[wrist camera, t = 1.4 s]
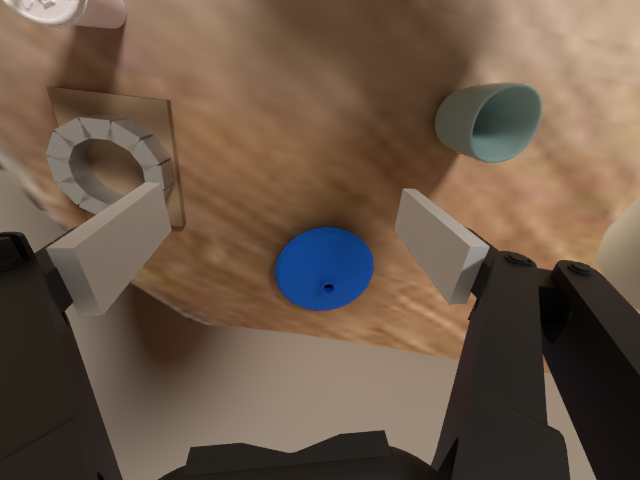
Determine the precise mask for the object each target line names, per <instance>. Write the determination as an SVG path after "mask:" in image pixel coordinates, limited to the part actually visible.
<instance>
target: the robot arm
mask: <svg viewBox="0 0 640 480" xmlns="http://www.w3.org/2000/svg"><path fill="white" fill-rule="evenodd" d="M171 231H172V229H171V225H170V221H169V216H168V212H167V208H166V203H165V199H164V194H163V190H162V186H161V183H144V184H142V185H141V186H139V187H138V188H136V189H135V190H133V191H132V192H130V193H129V194H127V195H126V196H124V197H123V198H121V199H120V200H118V201H117V202H115V203H113V204H112V205H110V206H109V207H107V208H106V209H104V210H103V211H101V212H100V213H98V214H97V215H95V216H94V217H92V218H91V219H89V220H88V221H86V222H85V223H83V224H82V225H80V226H78V227H75V228H73V229H71V230H69V231H68V232H66V233H65V234H64V235H62V237H59V238H57V239H56V240H54V242H51V243H50V244H48V245H46V246H45V247H43V248H42V249H40V250H39V251H37V252H36V253H34V252H33V250H32V248H31V246H30V245H29V243H28V241H27V239H26V237H25V235H24V234H23V233H19V232H2V233H0V480H123V479H122V476H121V474H120V471H119V468H118V465H117V461H116V458H115V455H114V452H113V449H112V447H111V444H110V441H109V438H108V435H107V432H106V429H105V426H104V423H103V420H102V417H101V414H100V411H99V408H98V405H97V402H96V399H95V396H94V393H93V390H92V387H91V384H90V381H89V379H88V375H87V372H86V369H85V366H84V363H83V360H82V357H81V354H80V352H79V348H78V346H77V342H76V340H75V337H74V334H73V331H72V328H71V325H70V322H69V319H68V317H67V315H66V313H65V310H66V309H67V308H68V307H69V306H70V305H71V304H72V303H73V304H74V306H75V308H76V310H77V312H78V314H79V316H90V315H103V314H104V313H105V312H106V311H107V309H108V308H109V307H110V306H111V305H112V303H113V302H114V301H115V300H116V298H117V297H118V296H119V295H120V293H121V292H122V291H123V290H124V288H125V287H126V286H127V285H128V284H129V282H130V281H131V280H132V279H133V277H134V276H135V275H136V274H137V273H138V271H139V270H140V269H141V268H142V266H143V265H144V264H145V263H146V261H147V260H148V259H149V258H150V257H151V255H152V254H153V253H154V252H155V250H156V249H157V248H158V247H159V245H160V244H161V243H162V242H163V241H164V239H165V238H166V237H167V236H168V234H169V233H170V232H171ZM394 232H395V233H396V235H397V236H398V237H399V239H400V240H401V241H402V243H403V244H404V245H405V247H406V248H407V249H408V251H409V252H410V253H411V255H412V256H413V257H414V259H415V260H416V261H417V263H418V264H419V265H420V267H421V268H422V269H423V271H424V272H425V273H426V274H427V276H428V277H429V278H430V280H431V281H432V282H433V284H434V285H435V286H436V288H437V289H438V290H439V292H440V293H441V294H442V296H443V297H444V298H445V300H446V301H447V302H448V304H466V303H467V300H468V298H469V296H470V293H471V292H472V293H473V294H474V295H475V296H476V298H477V299H476V302H475V304H474V306H473V309H472V311H471V313H470V316H469V318H468V320H470V322H469V326H468V330H467V334H466V338H465V342H464V345H463V349H462V353H461V357H460V361H459V365H458V369H457V373H456V376H455V380H454V384H453V388H452V392H451V396H450V400H449V403H448V407H447V411H446V415H445V419H444V423H443V426H442V430H441V434H440V438H439V442H438V446H437V450H436V453H435V456H434V459H433V462H432V464H431V466H430V465H429V464H427V463H425V462H424V461H422V460H421V459H419V458H418V457H416V456H414V455H412V454H410V453H408V452H406V451H403V450H401V449H398V448H395V447H391V446H389V445H388V441H387V438H386V434H385V431H384V430H382V431H370V432H358V433H347V434H339V435H337V436H334V437H332V438H329V439H327V440H324V441H322V442H319V443H317V444H314V445H312V446H310V447H307V448H305V449H302V450H300V451H297V452H294V453H286V452H281V451H277V450H272V449H268V448H263V447H258V446H254V445H249V444H244V443H233V444H222V445H211V446H200V447H191V448H190V451H189V455H188V459H187V462H186V465H185V466H182V467H180V468H178V469H176V470H174V471H172V472H170V473H168V474H166V475H164V476H163V477H161V478H160V479H158V480H570V473H569V465H568V457H567V449H566V444H565V440H564V437H563V435H562V434H561V433H560V431H558V430H556V429H554V428H552V427H550V426H548V423H547V412H546V397H545V383H544V367H543V355H544V357H545V360H546V362H547V364H548V367H549V369H550V371H551V374H552V376H553V378H554V381H555V383H556V385H557V388H558V390H559V392H560V395H561V397H562V400H563V402H564V404H565V407H566V409H567V411H568V414H569V416H570V418H571V421H572V423H573V425H574V427H575V430H576V432H577V435H578V437H579V439H580V442H581V444H582V446H583V449H584V451H585V453H586V456H587V458H588V461H589V463H590V465H591V467H592V470H593V472H594V475H595V476H596V479H597V480H640V314H639V313H638V312H637V311H636V310H635V309H634V308H633V307H632V306H631V305H630V304H629V303H628V302H627V301H626V299H625V298H624V297H623V296H622V295H621V294H620V293H619V292H618V291H617V290H616V289H615V288H614V287H613V286H612V285H611V284H610V283H609V282H608V281H607V280H606V278H605V277H604V276H603V275H602V274H600V273H599V272H598V271H597V270H595V269H593V268H591V267H590V266H589V265H586V264H584V263H581V262H574V261H568V260H560V261H558V262H557V264H556V265H555V267H554V269H553V271H552V270H546V269H540V268H537V266H536V264H535V262H533V261H532V260H531V259H529V258H527V257H525V256H523V255H521V254H518V253H514V252H509V251H501V252H500V251H498V250H497V249H496V248H494V247H493V246H492V245H491V244H489V243H488V242H487V241H485V240H484V239H483V238H481V237H480V236H478V235H477V234H476V233H475V232H474V231H472V230H471V229H469V228H467V227H465V226H463V225H461V224H460V223H459V222H458V221H456V220H455V219H454V218H452V217H451V216H450V215H449V214H447V213H446V212H445V211H443V210H442V209H441V208H440V207H438V206H437V205H436V204H434V203H433V202H432V201H431V200H429V199H428V198H427V197H425V196H424V195H423V194H422V193H420V192H419V191H418V190H416V189H403V191H402V195H401V200H400V205H399V210H398V214H397V219H396V224H395V229H394Z"/></svg>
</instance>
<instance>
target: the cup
mask: <svg viewBox="0 0 640 480" xmlns="http://www.w3.org/2000/svg"><path fill="white" fill-rule="evenodd" d="M541 117H542V100H541V97H540V94H539V93H538V92H537V90H536V89H534V88H533V87H531V86H529V85H526V84H523V83H488V84H479V85H472V86H468V87H465V88H462V89H459V90H457V91H455V92H453V93H451V94H450V95H449V96H448V97H446V98H445V99H444V101H443V102H442V103H441V105H440V107H439V108H438V111H437V114H436V118H435V132H436V135H437V137H438V139H439V141H440V142H441V143H442V144H443V145H444V146H446V147H447V148H449V149H451V150H453V151H455V152H457V153H459V154H461V155H464V156H467V157H469V158H472V159H475V160H478V161H482V162H487V163H497V162H503V161H506V160H509V159H511V158H513V157H515V156H516V155H518V154H519V153H521V152H522V151H523V150H524V149H525V148H526V147H527V146H528V144H529V143H530V142H531V140H532V139H533V137H534V135H535V134H536V132H537V129H538V127H539V124H540V120H541Z"/></svg>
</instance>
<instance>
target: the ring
mask: <svg viewBox="0 0 640 480" xmlns="http://www.w3.org/2000/svg"><path fill="white" fill-rule="evenodd" d="M153 134H154V133H152V132H150V131H149V130H147V129H146V128H144V127H142V126H141V125H139V124H137V123H136V122H134V121H132V120H131V119H127V118H126V117H117V116H108V115H93V116H85V117H78V118H75V119H73V120H71V121H69V122H68V123H66V124H64V125H62V126H60V127H58V128H56V129H55V131H53V133H52V136H51V139H50V142H49V145H48V149H47V152H46V154H47V155H49V156H46V158H47V161H48V164H49V167H50V169H51V172H52V175H53V178H54V181H55V182H59V183H57V185H58V186H59V187H60V188H61V189H62V190H63V191H64V193H65V194H66V195H67V196H68V197H69V198H70V199H71V200H72V201H73V202H74V203H75V204H76V205H78V204H80V205H79V207H81V208H83V209H85V210H87V211H89V212H91V213H94V214H96V215H97V214H98V213H100V212H101V211H103V210H104V209H106V208H107V207H109V206H110V205H112V204H113V203H115V202H117V201H118V200H120V199H121V198H123V197H124V196H126V195H122V194H120V193H118V192H116V191H114V190H112V189H110V188H108V187H106V186H105V185H104V184H103V183H102V182H101V181H100V179H99V178H98V177H97V176H96V175H95V174H94V173H93V171H92V167H91V163H90V160H89V156H88V154H89V152H90V149H91V146H92V144H93V141H95V140H96V139H104V140H111V141H112V142H114V143H116V144H118V145H119V146H121V147H123V148H125V149H127V150H128V151H130V152H131V154H132V155H133V156H134V158H135V159H136V160H137V161H138V163H139V164H140V165H141V167H142V168H143V173H144V179H145V183H161V186H162V190H163V194H164V199H165V200H166V199H167V197H168V195H169V193H170V191H171V189H172V187H173V185H174V181H175V178H174V171H173V163H172V159H169V158H170V157H171V156H170V155H169V153H168V152H167V151H166V149H165V148H164V146H163V145H162V144H161V142H160V141H159V139H158V138H157V136H156V135H155V136H153Z"/></svg>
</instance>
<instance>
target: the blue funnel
mask: <svg viewBox="0 0 640 480" xmlns="http://www.w3.org/2000/svg"><path fill="white" fill-rule="evenodd" d="M373 268H374V265H373V256H372V254H371V252H370V250H369V248H368V246H367V245H366V244H365V243H364V242H363V241H362V240H361V238H359V237H357V236H356V235H354V234H352V233H351V232H349V231H347V230H343V229H340V228H336V227H319V228H315V229H310V230H307V231H305V232H303V233H301V234H299V235H297V236H296V237H295V238H294V239H292V240H291V241H290V242H289V243H288V244H287V245H286V246H285V248H284V249H283V251H282V252H281V254H280V255H279V257H278V260H277V263H276V266H275V279H276V282H277V285H278V288H279V289H280V291H281V292H282V293H283V295H284V296H285V297H286V298H287V299H289V300H290V301H291V302H292V303H294V304H296V305H298V306H301V307H303V308H306V309H311V310H331V309H336V308H339V307H342V306H344V305H346V304H348V303H350V302H351V301H353V300H354V299H356V298H357V297H358V296H359V295H360V294H361V293H362V292H363V291H364V290H365V288H366V287H367V286H368V284H369V282H370V280H371V278H372V273H373Z"/></svg>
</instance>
